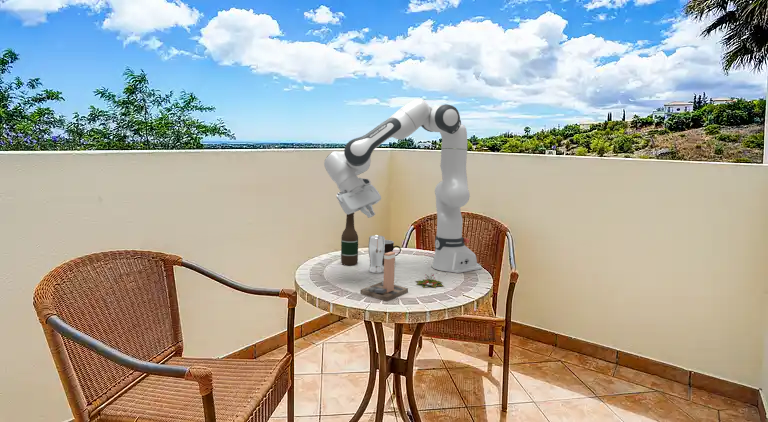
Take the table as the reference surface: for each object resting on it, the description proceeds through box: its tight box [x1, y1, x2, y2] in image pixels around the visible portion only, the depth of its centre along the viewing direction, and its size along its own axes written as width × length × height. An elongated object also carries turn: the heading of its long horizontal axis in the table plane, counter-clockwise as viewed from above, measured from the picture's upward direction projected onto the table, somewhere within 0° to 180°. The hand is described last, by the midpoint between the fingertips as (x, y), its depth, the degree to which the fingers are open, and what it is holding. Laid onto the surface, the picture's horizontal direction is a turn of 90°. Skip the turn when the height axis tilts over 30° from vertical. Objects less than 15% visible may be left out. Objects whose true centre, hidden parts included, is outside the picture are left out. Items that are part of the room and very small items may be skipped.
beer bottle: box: [340, 212, 359, 267], centre depth 203 cm, size 8×8×24 cm
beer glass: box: [367, 234, 386, 274], centre depth 193 cm, size 7×7×15 cm
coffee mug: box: [382, 239, 402, 266], centre depth 206 cm, size 12×9×10 cm
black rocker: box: [374, 288, 387, 293], centre depth 160 cm, size 4×2×1 cm, turn 53°
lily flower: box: [415, 273, 444, 289], centre depth 178 cm, size 12×12×5 cm
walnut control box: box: [360, 281, 409, 302], centre depth 166 cm, size 12×13×3 cm
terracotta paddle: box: [382, 251, 396, 293], centre depth 162 cm, size 2×4×14 cm, turn 143°
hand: (372, 216), depth 176 cm, fingers closed
